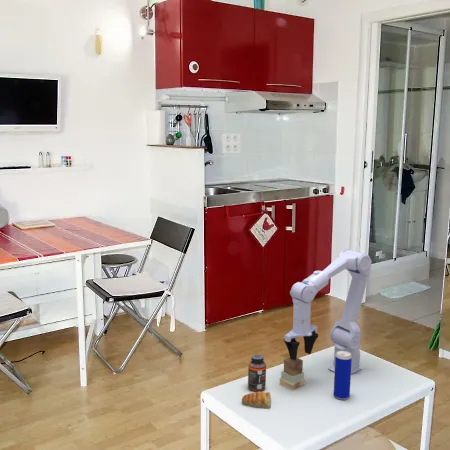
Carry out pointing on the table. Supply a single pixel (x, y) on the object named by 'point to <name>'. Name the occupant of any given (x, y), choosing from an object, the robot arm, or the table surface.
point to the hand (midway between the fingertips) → (300, 356)
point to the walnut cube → (293, 366)
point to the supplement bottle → (257, 373)
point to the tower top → (292, 377)
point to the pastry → (257, 399)
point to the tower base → (292, 386)
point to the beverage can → (342, 375)
